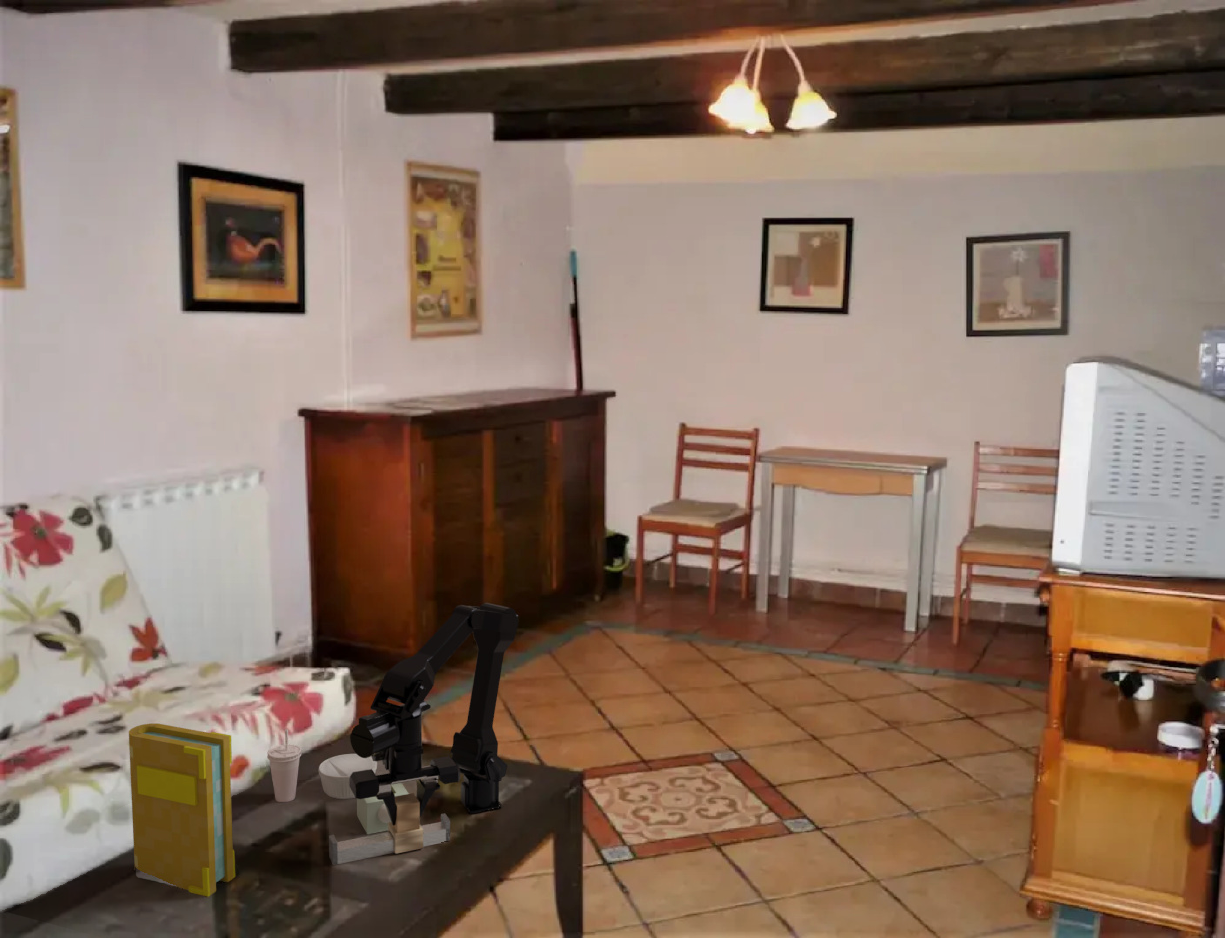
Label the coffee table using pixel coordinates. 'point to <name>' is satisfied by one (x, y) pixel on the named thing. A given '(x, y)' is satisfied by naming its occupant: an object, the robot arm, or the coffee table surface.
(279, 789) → the smoothie
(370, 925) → the coffee table surface
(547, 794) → the coffee table surface
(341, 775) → the ramekin
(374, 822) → the cabinet
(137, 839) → the book
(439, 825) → the rail
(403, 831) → the carriage
